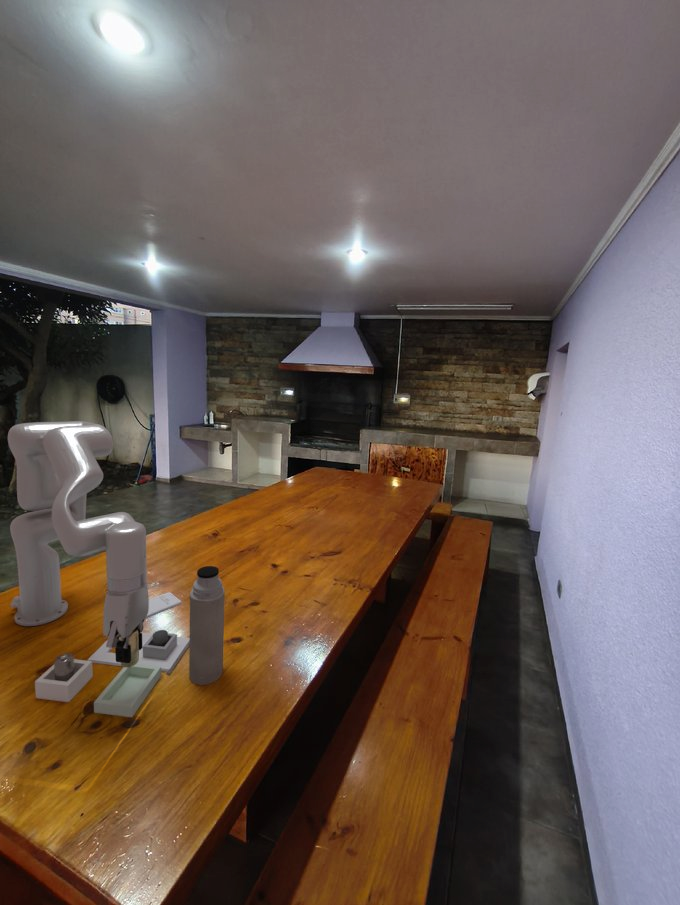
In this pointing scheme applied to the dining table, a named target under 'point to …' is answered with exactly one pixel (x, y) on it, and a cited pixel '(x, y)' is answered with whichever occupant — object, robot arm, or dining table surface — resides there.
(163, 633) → the test button
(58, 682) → the white open box
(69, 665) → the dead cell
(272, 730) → the dining table surface
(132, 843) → the dining table surface
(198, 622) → the thermos bottle
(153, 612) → the external hard drive
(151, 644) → the checker
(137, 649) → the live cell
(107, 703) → the pale green trough
